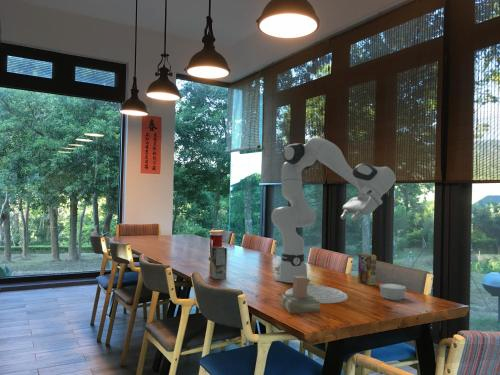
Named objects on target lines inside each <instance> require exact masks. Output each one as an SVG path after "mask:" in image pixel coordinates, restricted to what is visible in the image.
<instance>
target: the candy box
mask: <svg viewBox="0 0 500 375" xmlns="http://www.w3.org/2000/svg"><path fill="white" fill-rule="evenodd" d="M357 268H358V270H357V282H358V283H361V284H364V285H368V286H376V282H377V281H376V280H377V276H376V275H377V255H376V254H370V253H365V252H360V253H358V267H357Z"/></svg>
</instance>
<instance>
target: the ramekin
mask: <svg viewBox="0 0 500 375" xmlns="http://www.w3.org/2000/svg"><path fill="white" fill-rule="evenodd" d="M379 288H380V289H379V290H380V296H381V297H382V298H383V299H386V300H391V301H402V300H404V298H405V294H406V291H407V287H406V286H405V285H402V284H396V283H380V284H379Z"/></svg>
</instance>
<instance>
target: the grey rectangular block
mask: <svg viewBox="0 0 500 375" xmlns="http://www.w3.org/2000/svg"><path fill="white" fill-rule="evenodd" d="M307 277H308V276H307ZM307 277H305V276H293V283H292V288H293V296H294V297H295V298H296V299H299V298H307V285H308V281H307Z"/></svg>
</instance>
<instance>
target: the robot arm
mask: <svg viewBox="0 0 500 375" xmlns="http://www.w3.org/2000/svg"><path fill="white" fill-rule="evenodd" d="M283 158H284V161H285V162H283V164H282V165H281V166H282V167H281V173H280V175H281V176H280V177H281V179H280V180H281V195H282V197H283V198H284V199H285V200H286V201H288V202H289V204H290V206H280V207H276V208H274V209H273V210H272V212H271V217H270V218H271V222H272V224H273V225H274V226H275V227H276V228H277V229H278V230H279V232H280V235H281V239H282V253H281V256H280V257H281V258H280V259H281V260H280V262H279V263H278V265H277V266H275V267H274V270H275V273H273V274H272V276H273V279H274V281H276V282H283V283H288V284H289V283H290V284H293V276H305V277H307V282H308V281H310V277H308V267H307V264H306V263H305V256H306V255H305V240H304V238H303V237H302V235H300V234H298V232H297V228H307V227H311V226H314V224H315V222H316V220H317V214H316V211H315V210H314V209H313V208H312V207H311V205H309V204H308V202H307V200H306V198H305V195H304V189H303V176H302V174H303V173H302V171H303V170H308V169H310V168H313V167H314V166H316V165H318V163H319V162H320V163H321V164H323V165H324V166H326V167H327V168H329V169H330V170H331V171H333V172H334V173H336V174H337V175H338V176H339V177H340V178H342V179H343V180H345V181H346V182H347V183H348V184H350V185H351V186H352V187H353V188H354V189H356V191H357V196H353V197H351V198H350V199H349V200H348V201H347V202H345V203H344V204H343V206H342V210H343V212H342V214H341V215H340V218H341V219H342V220H346V218H347V216H348V215H349V214H352V215H351V216H350V220H351V221H352V222H355V221H356V220H357V219H358V218H360V217H361V216H363V215H364V216H368V215H371V214H372V213H373V212H374V211H375V210H376V209H377V208H378V207H379V206H381V205H382V204H383V203H384V202H383V199H381V198H382V197H383V195H385V194H386V193H387V192H389V190H390V189H391V188H392V187H393V185H394V184H395V183H396V181H397V177H396V174H395V172H394V170H393V169H392V168H391V167H388V166H373V165H371V164H369V163H366V162H363V163H359V164H357V165H356V166H355V167H354V168H351V167H350V165H349V164H348V162H347V161H346V158H345V156H344V154H343V152H342V150H341V149H340V148H339V147H338V145H336V144H335V143H334V142H332V141H329V140H328V139H326V138H323V137H320V136H311V138H309V139H308V140H307V142H306V143H305V144H303V143H301V142H300V143H291V144H288V145H286V146H285V148H284V150H283Z"/></svg>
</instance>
